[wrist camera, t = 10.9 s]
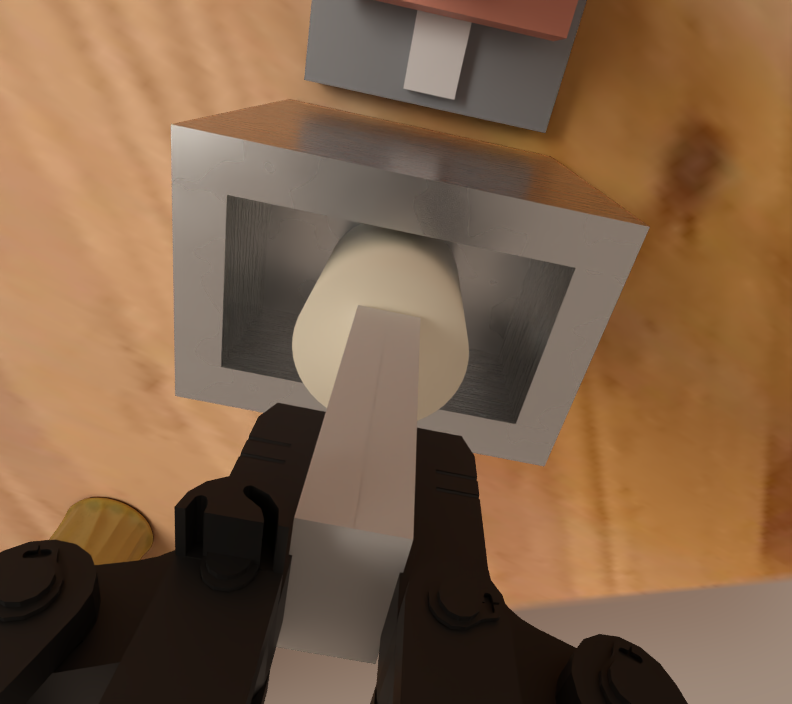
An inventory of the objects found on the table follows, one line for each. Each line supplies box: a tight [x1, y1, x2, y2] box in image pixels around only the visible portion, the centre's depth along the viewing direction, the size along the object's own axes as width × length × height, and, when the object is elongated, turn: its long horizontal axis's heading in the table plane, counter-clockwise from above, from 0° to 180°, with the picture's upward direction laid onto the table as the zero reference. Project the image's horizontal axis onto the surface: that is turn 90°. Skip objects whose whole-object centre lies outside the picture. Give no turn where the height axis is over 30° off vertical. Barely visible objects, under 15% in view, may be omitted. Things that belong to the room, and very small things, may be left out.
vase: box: [49, 498, 153, 565], centre depth 31 cm, size 6×6×14 cm
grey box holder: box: [171, 99, 650, 466], centre depth 20 cm, size 8×13×12 cm, turn 79°
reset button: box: [292, 223, 469, 421], centre depth 15 cm, size 4×4×5 cm
